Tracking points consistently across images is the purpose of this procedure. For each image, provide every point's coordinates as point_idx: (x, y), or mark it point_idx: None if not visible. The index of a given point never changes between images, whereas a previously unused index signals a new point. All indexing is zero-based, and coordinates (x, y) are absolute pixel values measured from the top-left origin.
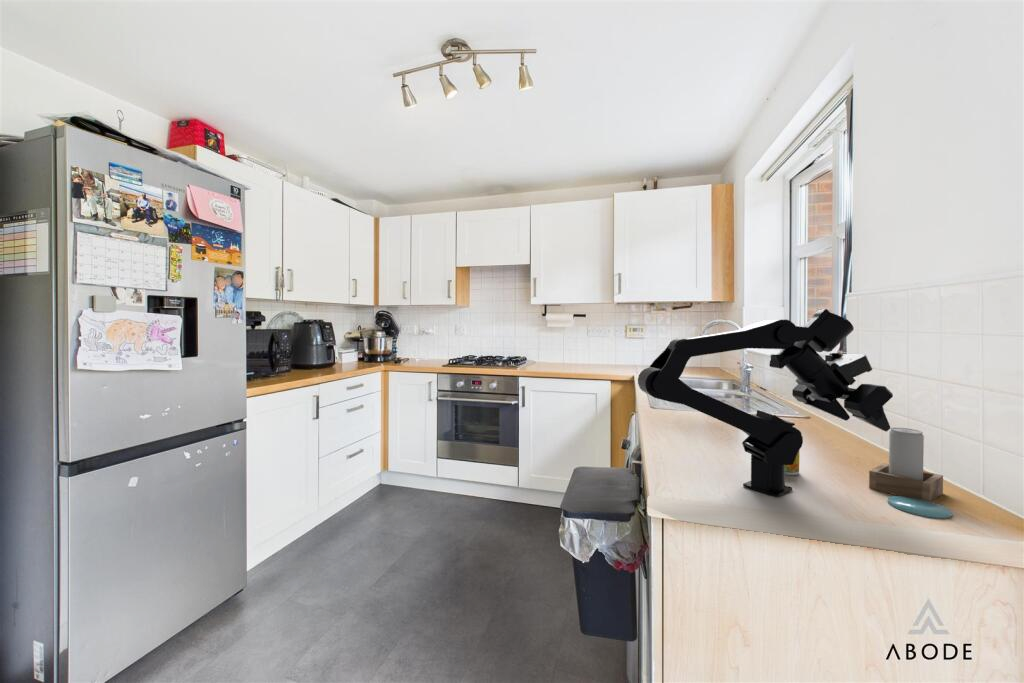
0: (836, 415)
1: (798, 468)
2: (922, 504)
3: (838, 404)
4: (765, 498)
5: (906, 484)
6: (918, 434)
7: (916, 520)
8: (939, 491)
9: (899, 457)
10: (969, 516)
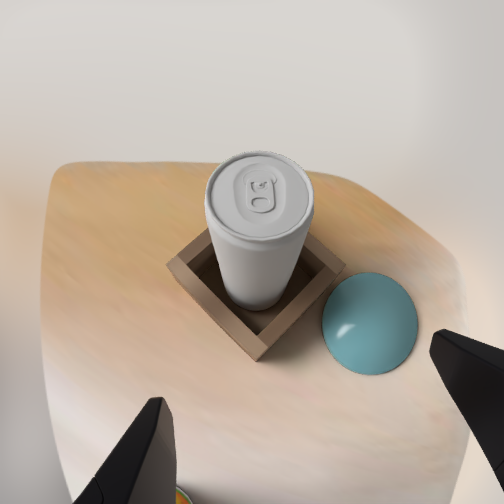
0: (174, 483)
1: (179, 495)
2: (366, 311)
3: (139, 492)
4: None
5: (313, 301)
6: (307, 182)
7: (433, 363)
8: None
9: (284, 276)
10: (382, 252)
